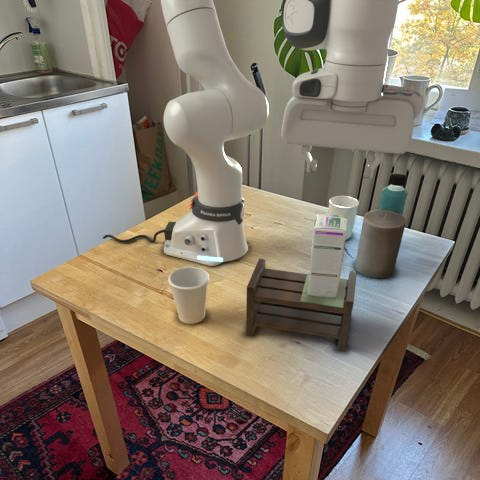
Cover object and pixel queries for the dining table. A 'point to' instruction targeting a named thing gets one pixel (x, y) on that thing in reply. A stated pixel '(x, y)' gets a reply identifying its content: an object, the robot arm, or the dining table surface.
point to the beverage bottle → (394, 194)
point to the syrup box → (327, 255)
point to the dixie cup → (189, 293)
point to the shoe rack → (297, 304)
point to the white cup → (344, 210)
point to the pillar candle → (379, 243)
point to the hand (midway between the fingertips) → (339, 174)
